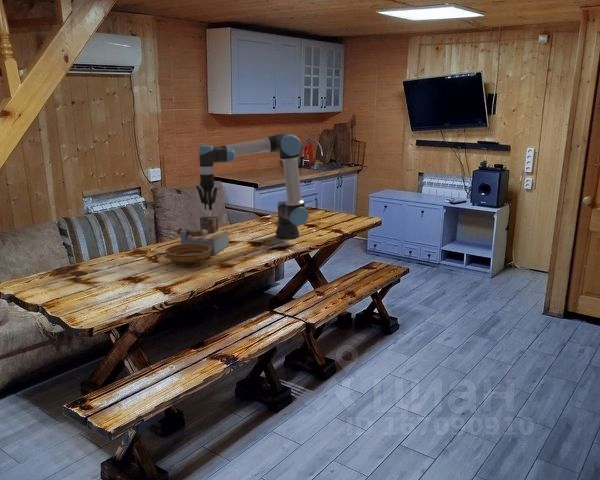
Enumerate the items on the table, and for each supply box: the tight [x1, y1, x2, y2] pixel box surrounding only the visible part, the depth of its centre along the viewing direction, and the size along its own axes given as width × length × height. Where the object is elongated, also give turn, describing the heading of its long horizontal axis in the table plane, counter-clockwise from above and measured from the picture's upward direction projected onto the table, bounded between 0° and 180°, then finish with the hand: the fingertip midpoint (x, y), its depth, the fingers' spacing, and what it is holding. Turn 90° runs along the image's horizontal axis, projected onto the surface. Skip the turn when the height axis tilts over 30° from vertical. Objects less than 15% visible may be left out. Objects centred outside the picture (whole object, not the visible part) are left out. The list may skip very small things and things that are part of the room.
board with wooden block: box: [189, 218, 228, 241], centre depth 308 cm, size 15×19×9 cm
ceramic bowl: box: [163, 243, 213, 267], centre depth 284 cm, size 30×24×8 cm
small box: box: [199, 216, 219, 231], centre depth 349 cm, size 11×6×10 cm, turn 84°
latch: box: [176, 227, 203, 236], centre depth 307 cm, size 15×3×3 cm, turn 74°
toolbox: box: [179, 227, 230, 256], centre depth 310 cm, size 22×20×12 cm
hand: (208, 215), depth 301 cm, fingers closed
